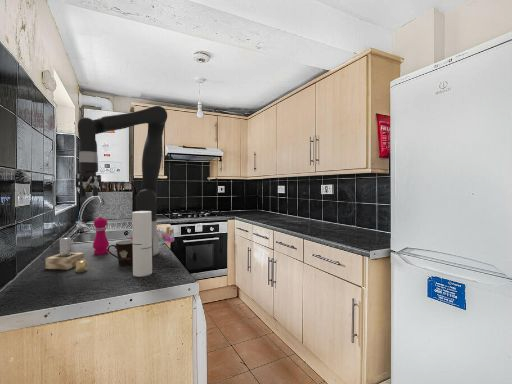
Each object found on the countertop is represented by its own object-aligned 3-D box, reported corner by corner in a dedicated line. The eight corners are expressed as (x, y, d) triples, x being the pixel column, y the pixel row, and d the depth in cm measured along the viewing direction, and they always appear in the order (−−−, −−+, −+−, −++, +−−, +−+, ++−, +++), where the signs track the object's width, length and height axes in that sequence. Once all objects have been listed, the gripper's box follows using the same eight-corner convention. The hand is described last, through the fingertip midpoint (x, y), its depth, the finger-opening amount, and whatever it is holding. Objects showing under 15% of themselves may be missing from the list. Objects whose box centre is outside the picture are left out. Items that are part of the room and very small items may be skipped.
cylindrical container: (136, 270, 114) (135, 211, 113) (154, 270, 114) (153, 210, 113) (130, 276, 106) (129, 213, 106) (149, 276, 107) (148, 212, 106)
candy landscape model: (143, 238, 181) (143, 224, 181) (179, 238, 180) (178, 224, 180) (124, 247, 156) (124, 231, 156) (165, 247, 156) (165, 231, 155)
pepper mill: (101, 255, 137) (101, 215, 136) (89, 254, 139) (88, 215, 138) (112, 251, 144) (111, 214, 143) (100, 251, 146) (99, 213, 145)
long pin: (73, 264, 122) (72, 237, 122) (66, 267, 118) (65, 239, 118) (65, 264, 123) (64, 237, 122) (57, 266, 119) (57, 239, 118)
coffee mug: (141, 262, 126) (141, 240, 125) (126, 267, 118) (126, 244, 117) (121, 259, 130) (121, 239, 129) (106, 265, 121) (105, 242, 121)
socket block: (84, 262, 125) (84, 252, 125) (67, 269, 115) (67, 258, 115) (64, 261, 126) (63, 252, 126) (45, 268, 116) (45, 258, 116)
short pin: (89, 269, 115) (89, 260, 115) (82, 272, 111) (82, 262, 111) (80, 269, 116) (80, 259, 116) (73, 272, 112) (73, 262, 112)
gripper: (85, 160, 120) (86, 197, 121) (105, 163, 134) (106, 195, 135) (69, 160, 121) (70, 197, 121) (91, 163, 135) (92, 195, 135)
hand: (89, 196), depth 128 cm, fingers open, 8 cm apart
